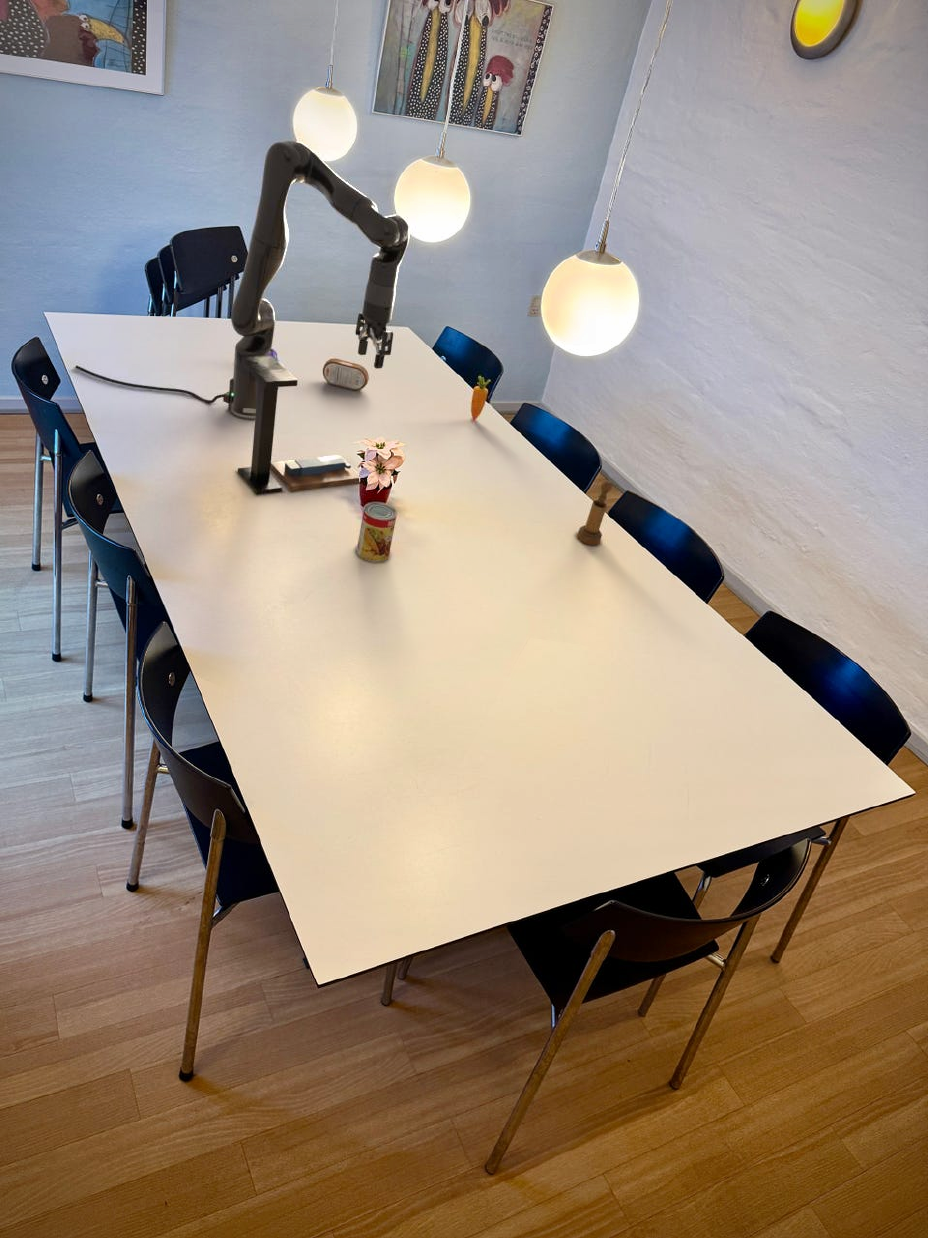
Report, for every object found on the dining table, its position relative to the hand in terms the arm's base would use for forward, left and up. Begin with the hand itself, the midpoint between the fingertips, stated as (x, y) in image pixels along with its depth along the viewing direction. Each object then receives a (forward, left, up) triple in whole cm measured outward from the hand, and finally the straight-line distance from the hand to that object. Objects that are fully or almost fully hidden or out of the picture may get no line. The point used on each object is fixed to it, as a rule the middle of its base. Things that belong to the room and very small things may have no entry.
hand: (369, 361), depth 232 cm
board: (-5, -14, -30) cm, 33 cm away
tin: (-26, +46, -30) cm, 61 cm away
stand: (-14, -27, -30) cm, 43 cm away
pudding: (-52, +41, -30) cm, 73 cm away
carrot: (+17, +56, -30) cm, 66 cm away
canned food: (+24, -39, -30) cm, 55 cm away
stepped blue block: (-5, -14, -28) cm, 32 cm away
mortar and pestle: (+69, +6, -30) cm, 76 cm away
